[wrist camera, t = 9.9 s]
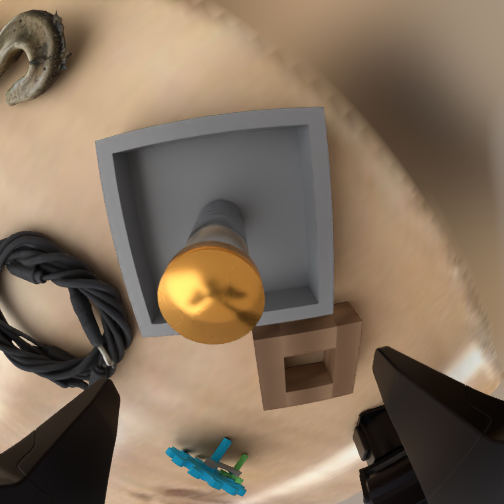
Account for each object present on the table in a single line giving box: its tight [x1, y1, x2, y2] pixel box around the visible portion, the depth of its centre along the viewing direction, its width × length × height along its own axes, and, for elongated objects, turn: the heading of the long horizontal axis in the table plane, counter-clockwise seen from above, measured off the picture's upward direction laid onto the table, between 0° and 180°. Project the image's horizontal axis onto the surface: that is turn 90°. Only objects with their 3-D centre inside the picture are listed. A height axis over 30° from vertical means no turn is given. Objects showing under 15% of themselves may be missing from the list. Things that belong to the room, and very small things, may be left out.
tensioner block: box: [252, 302, 362, 411], centre depth 22 cm, size 8×8×3 cm
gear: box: [165, 438, 248, 497], centre depth 26 cm, size 11×6×10 cm
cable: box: [0, 231, 133, 390], centre depth 19 cm, size 17×14×4 cm
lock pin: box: [158, 199, 265, 344], centre depth 14 cm, size 4×4×10 cm
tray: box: [95, 107, 334, 338], centre depth 18 cm, size 13×13×4 cm
